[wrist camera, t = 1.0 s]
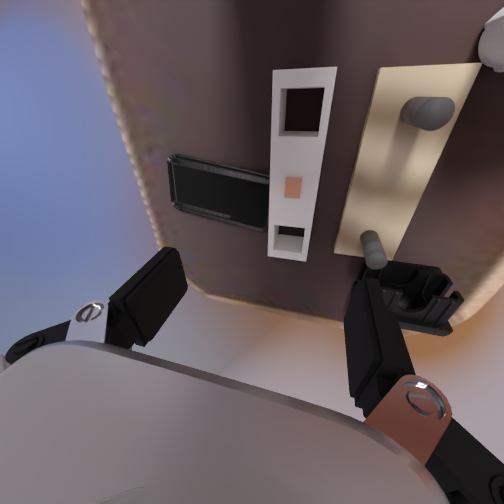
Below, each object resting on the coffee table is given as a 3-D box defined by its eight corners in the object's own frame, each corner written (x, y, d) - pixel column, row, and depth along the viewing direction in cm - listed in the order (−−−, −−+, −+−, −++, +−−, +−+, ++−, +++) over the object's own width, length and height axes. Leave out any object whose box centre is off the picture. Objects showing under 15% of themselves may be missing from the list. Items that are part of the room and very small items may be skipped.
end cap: (348, 292, 34) (353, 328, 28) (361, 256, 30) (369, 291, 24) (421, 304, 32) (440, 347, 26) (446, 267, 27) (475, 309, 22)
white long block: (280, 73, 21) (271, 69, 17) (335, 71, 20) (337, 65, 16) (273, 240, 32) (266, 258, 28) (307, 244, 31) (305, 264, 27)
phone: (166, 153, 28) (279, 179, 26) (171, 151, 29) (281, 176, 27) (171, 208, 32) (267, 234, 31) (175, 205, 33) (269, 230, 31)
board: (377, 69, 19) (396, 60, 14) (474, 64, 17) (532, 52, 12) (333, 248, 30) (335, 277, 25) (389, 255, 28) (403, 288, 23)
